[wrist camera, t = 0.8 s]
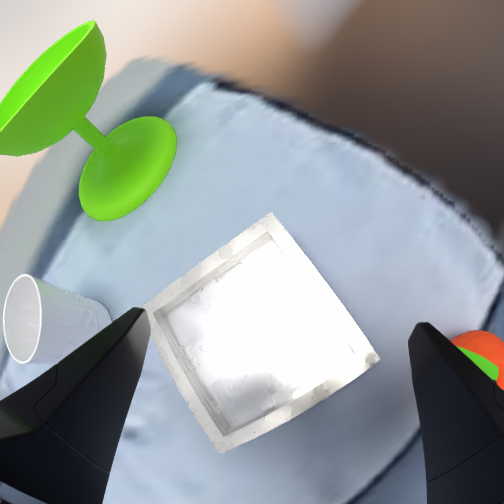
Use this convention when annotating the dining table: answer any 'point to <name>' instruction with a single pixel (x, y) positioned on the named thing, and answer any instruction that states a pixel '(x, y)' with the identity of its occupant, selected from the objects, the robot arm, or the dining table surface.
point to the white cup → (48, 321)
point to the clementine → (484, 353)
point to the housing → (255, 336)
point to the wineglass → (86, 126)
